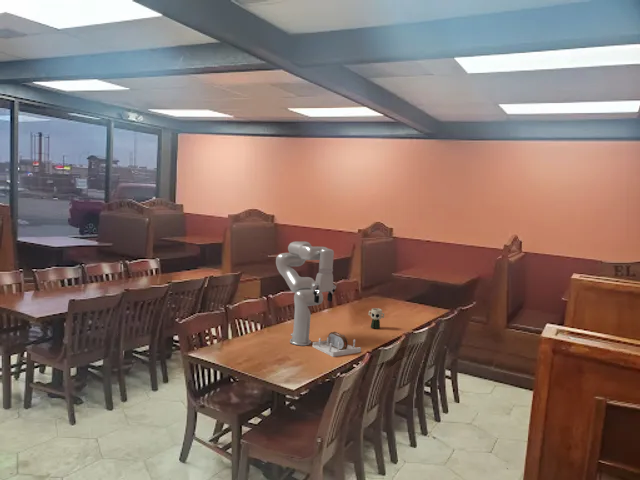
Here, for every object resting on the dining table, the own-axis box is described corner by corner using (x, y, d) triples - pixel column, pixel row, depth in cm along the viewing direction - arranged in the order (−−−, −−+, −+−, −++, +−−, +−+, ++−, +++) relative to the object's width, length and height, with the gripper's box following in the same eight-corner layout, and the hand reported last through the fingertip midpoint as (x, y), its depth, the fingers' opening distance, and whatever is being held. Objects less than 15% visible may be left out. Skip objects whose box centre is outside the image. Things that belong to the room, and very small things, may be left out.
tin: (347, 351, 291) (348, 336, 290) (343, 352, 289) (344, 337, 288) (331, 343, 302) (332, 329, 302) (326, 344, 301) (327, 330, 300)
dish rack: (312, 346, 298) (313, 336, 297) (339, 342, 310) (340, 332, 310) (332, 356, 283) (333, 345, 282) (360, 352, 295) (361, 341, 295)
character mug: (365, 327, 349) (367, 309, 348) (369, 325, 356) (370, 307, 354) (381, 330, 345) (383, 311, 344) (384, 328, 352) (386, 309, 350)
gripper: (332, 269, 292) (330, 299, 293) (309, 270, 280) (306, 301, 282) (341, 271, 286) (339, 301, 288) (317, 273, 275) (315, 304, 276)
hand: (323, 301), depth 285 cm, fingers open, 9 cm apart
